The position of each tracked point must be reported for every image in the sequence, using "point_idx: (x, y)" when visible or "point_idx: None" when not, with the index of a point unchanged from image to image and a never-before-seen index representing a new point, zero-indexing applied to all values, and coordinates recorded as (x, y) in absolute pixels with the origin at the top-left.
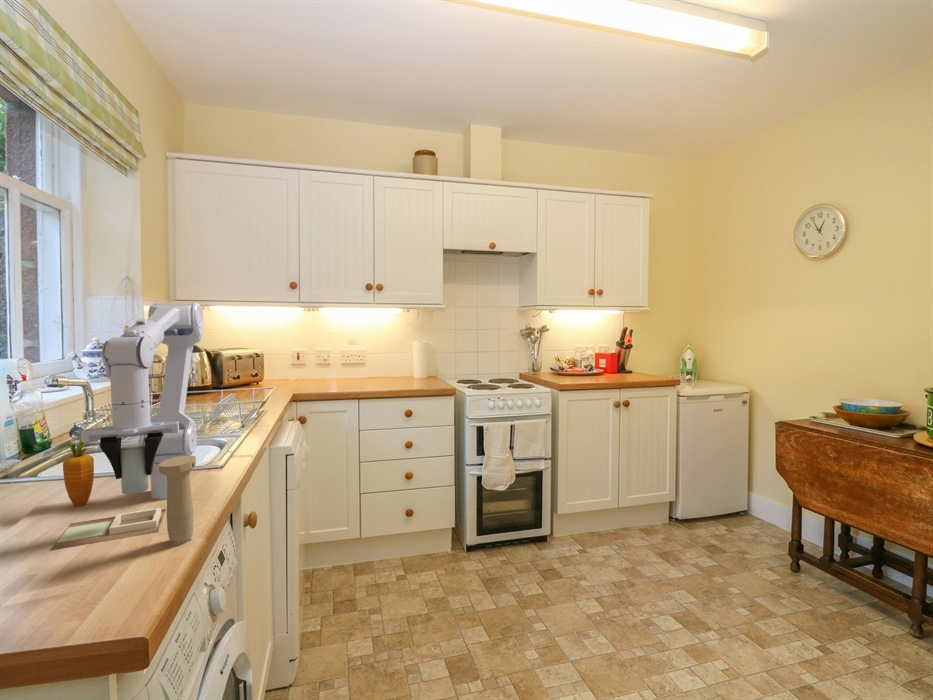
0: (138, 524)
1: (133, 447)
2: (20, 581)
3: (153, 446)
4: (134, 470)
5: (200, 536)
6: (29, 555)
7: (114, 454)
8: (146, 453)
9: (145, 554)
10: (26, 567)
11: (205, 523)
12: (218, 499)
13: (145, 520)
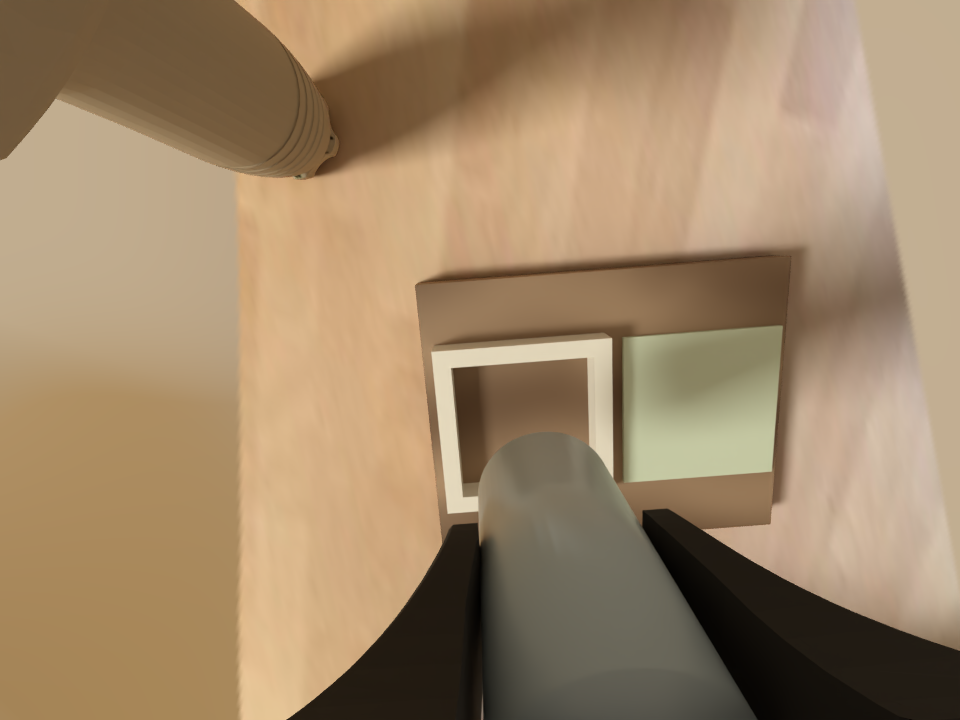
0: (500, 344)
1: None
2: (826, 59)
3: (356, 695)
4: (554, 513)
5: (250, 233)
6: (845, 311)
7: (797, 631)
8: (458, 635)
9: (432, 128)
10: (832, 194)
11: (263, 375)
12: (270, 626)
13: (496, 442)
